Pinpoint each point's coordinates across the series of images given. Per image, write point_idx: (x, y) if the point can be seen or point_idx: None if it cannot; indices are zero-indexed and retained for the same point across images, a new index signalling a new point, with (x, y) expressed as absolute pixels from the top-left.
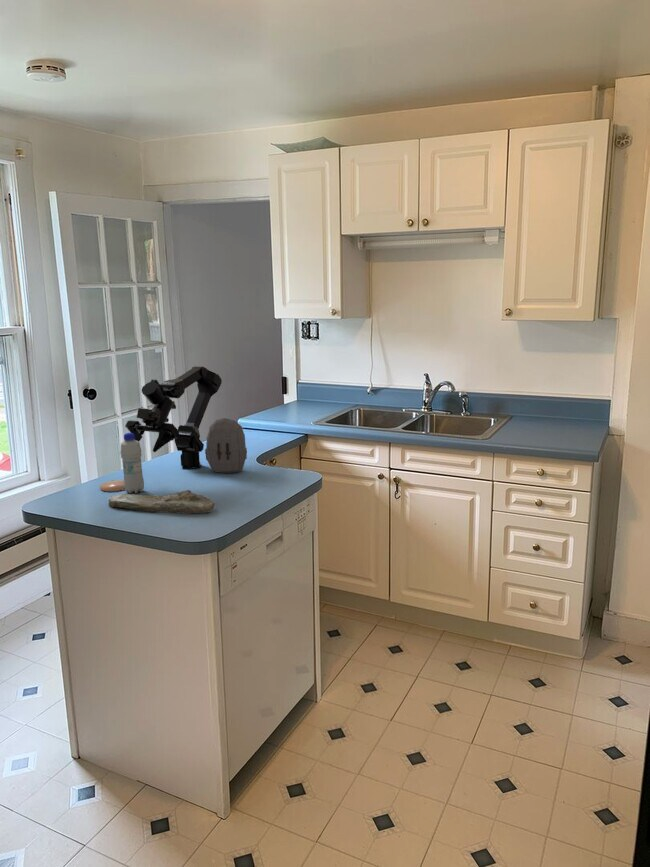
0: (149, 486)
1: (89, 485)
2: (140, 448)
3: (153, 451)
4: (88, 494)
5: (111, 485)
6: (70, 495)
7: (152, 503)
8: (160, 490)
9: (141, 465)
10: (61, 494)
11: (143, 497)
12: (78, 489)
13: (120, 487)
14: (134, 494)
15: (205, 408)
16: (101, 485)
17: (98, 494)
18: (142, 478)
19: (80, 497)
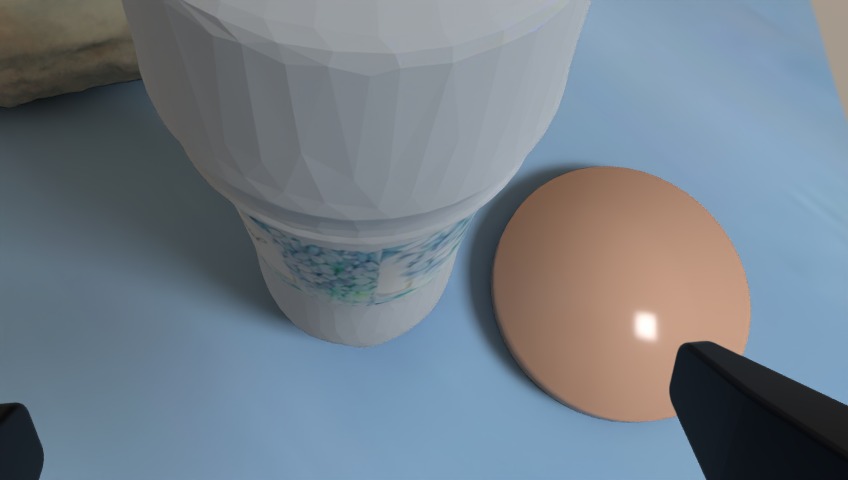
0: (345, 463)
1: (836, 246)
2: (144, 62)
3: (25, 423)
4: (636, 82)
5: (623, 252)
6: (722, 24)
7: None
8: (151, 407)
9: (248, 229)
10: (792, 19)
11: (28, 15)
12: (806, 139)
13: (504, 240)
14: None
15: None
16: (696, 218)
17: (572, 108)
18: (260, 263)
19: (625, 17)
